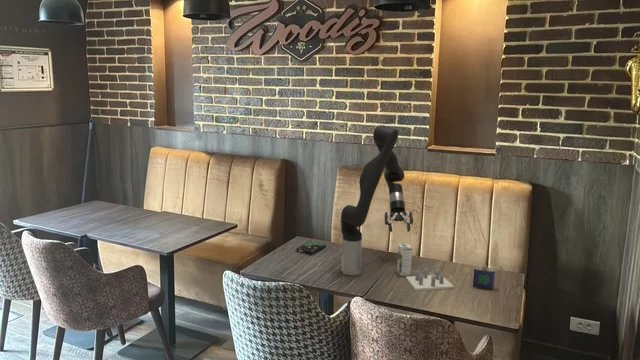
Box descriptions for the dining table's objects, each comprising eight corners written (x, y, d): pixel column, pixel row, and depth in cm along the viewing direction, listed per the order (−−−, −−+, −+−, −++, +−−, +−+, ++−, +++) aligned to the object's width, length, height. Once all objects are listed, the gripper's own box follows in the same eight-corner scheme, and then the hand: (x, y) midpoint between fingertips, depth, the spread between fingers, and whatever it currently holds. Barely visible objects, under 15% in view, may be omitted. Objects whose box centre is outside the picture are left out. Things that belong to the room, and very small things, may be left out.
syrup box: (396, 271, 257) (397, 243, 254) (408, 271, 258) (409, 243, 255) (399, 276, 252) (400, 247, 249) (411, 275, 252) (412, 247, 249)
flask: (493, 287, 239) (495, 265, 237) (494, 290, 236) (495, 268, 234) (472, 285, 242) (474, 263, 239) (472, 288, 239) (474, 265, 237)
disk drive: (312, 256, 279) (326, 248, 291) (312, 251, 278) (326, 243, 290) (296, 253, 284) (310, 245, 296) (296, 248, 283) (310, 240, 296)
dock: (415, 290, 235) (416, 279, 234) (405, 278, 249) (406, 267, 248) (453, 288, 238) (454, 277, 237) (441, 276, 251) (442, 265, 250)
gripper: (383, 199, 267) (386, 228, 259) (411, 199, 267) (415, 228, 259) (382, 206, 273) (385, 234, 265) (409, 205, 273) (413, 234, 265)
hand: (400, 231), depth 262 cm, fingers open, 8 cm apart
